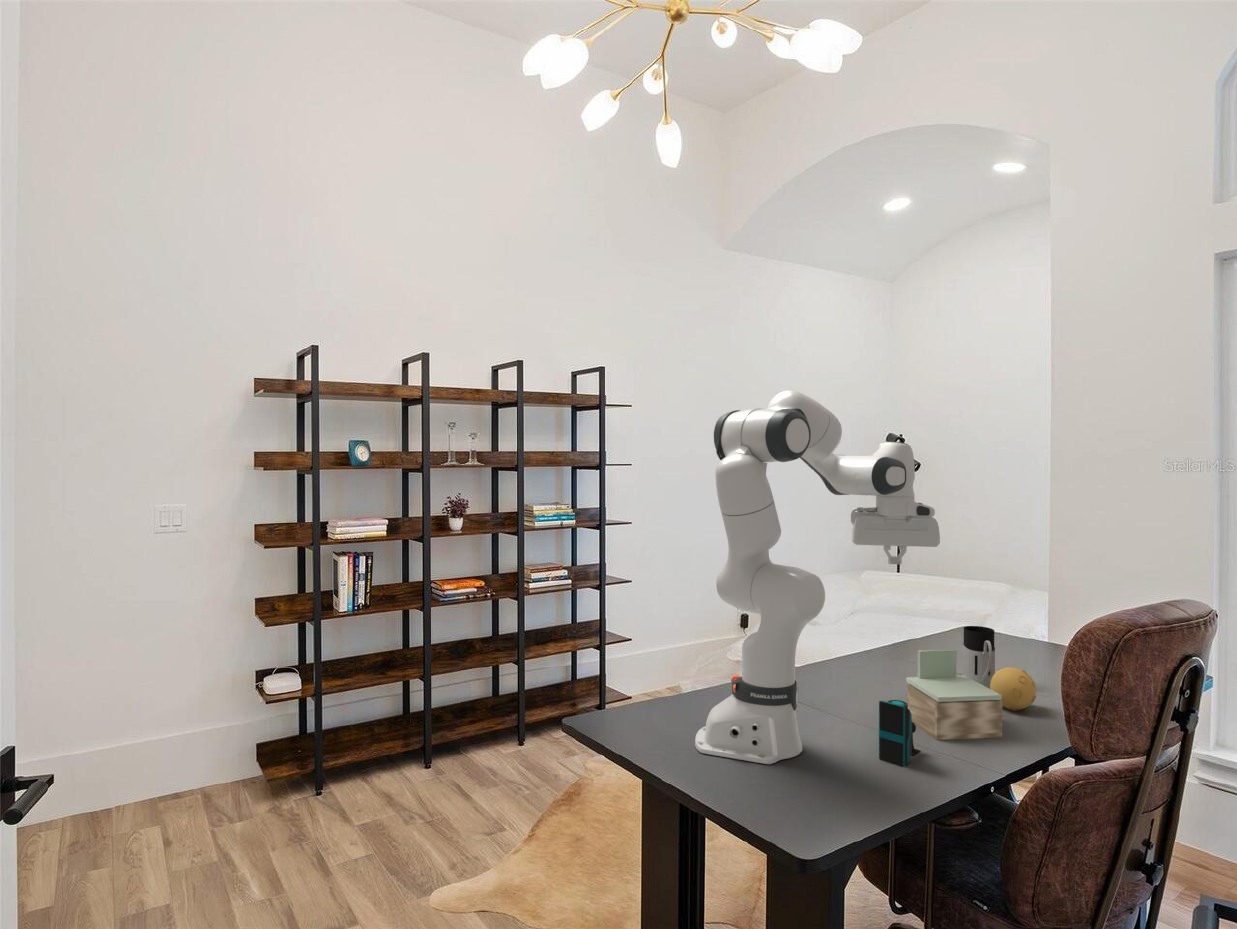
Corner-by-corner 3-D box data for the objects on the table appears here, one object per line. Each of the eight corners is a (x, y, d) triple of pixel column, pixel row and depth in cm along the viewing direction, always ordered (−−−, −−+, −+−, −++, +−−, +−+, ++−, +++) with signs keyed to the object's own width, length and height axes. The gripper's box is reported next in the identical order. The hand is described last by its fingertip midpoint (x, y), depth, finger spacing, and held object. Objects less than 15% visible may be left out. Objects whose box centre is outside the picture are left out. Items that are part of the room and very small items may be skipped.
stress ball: (985, 710, 180) (1000, 694, 173) (983, 673, 186) (997, 656, 179) (1028, 719, 179) (1045, 704, 171) (1025, 681, 185) (1041, 665, 177)
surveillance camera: (925, 695, 152) (904, 707, 145) (925, 753, 153) (904, 767, 146) (899, 689, 156) (877, 700, 149) (898, 745, 157) (877, 759, 150)
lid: (938, 702, 159) (938, 668, 159) (906, 681, 173) (906, 650, 173) (1001, 699, 161) (1001, 666, 161) (964, 679, 175) (964, 648, 175)
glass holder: (990, 680, 201) (991, 626, 201) (1008, 697, 187) (1009, 639, 187) (956, 678, 203) (957, 624, 202) (972, 695, 189) (972, 637, 188)
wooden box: (936, 739, 159) (937, 703, 159) (907, 718, 172) (907, 684, 172) (1001, 737, 161) (1002, 701, 161) (967, 716, 174) (968, 682, 174)
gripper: (852, 508, 179) (851, 564, 179) (941, 509, 175) (941, 567, 175) (849, 506, 185) (849, 560, 185) (936, 507, 181) (935, 563, 181)
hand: (894, 564), depth 180 cm, fingers closed
